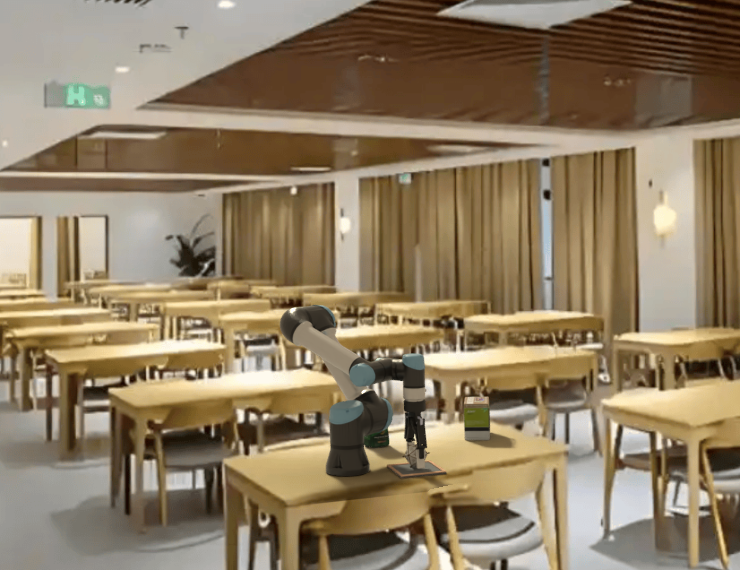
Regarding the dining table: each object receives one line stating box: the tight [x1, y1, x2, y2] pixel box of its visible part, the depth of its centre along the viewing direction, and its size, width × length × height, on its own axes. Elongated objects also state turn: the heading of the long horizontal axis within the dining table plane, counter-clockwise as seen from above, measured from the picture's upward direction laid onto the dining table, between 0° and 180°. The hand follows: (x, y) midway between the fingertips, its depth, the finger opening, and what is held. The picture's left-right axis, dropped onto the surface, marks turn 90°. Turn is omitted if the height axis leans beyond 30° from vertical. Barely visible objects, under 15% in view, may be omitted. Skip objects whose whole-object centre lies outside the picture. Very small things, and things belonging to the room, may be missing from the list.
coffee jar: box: [364, 397, 390, 449], centre depth 350 cm, size 10×8×19 cm
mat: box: [386, 460, 447, 479], centre depth 312 cm, size 16×16×1 cm
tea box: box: [463, 396, 491, 441], centre depth 363 cm, size 15×10×15 cm, turn 172°
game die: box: [401, 442, 431, 468], centre depth 312 cm, size 9×8×10 cm
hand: (415, 464), depth 312 cm, fingers open, 10 cm apart
